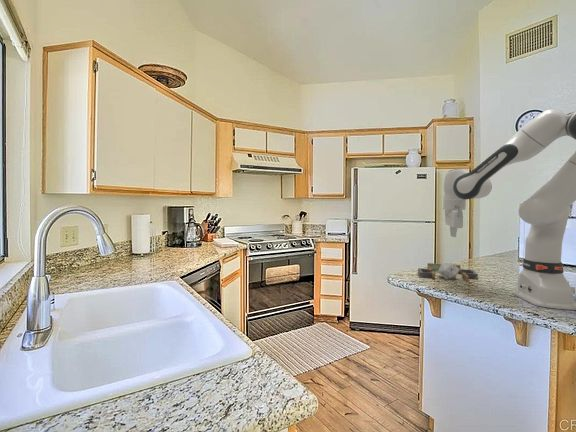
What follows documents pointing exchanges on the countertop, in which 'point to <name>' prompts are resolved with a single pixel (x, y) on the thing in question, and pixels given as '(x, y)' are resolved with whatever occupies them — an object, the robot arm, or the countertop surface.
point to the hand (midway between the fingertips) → (453, 236)
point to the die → (448, 270)
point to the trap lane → (435, 267)
